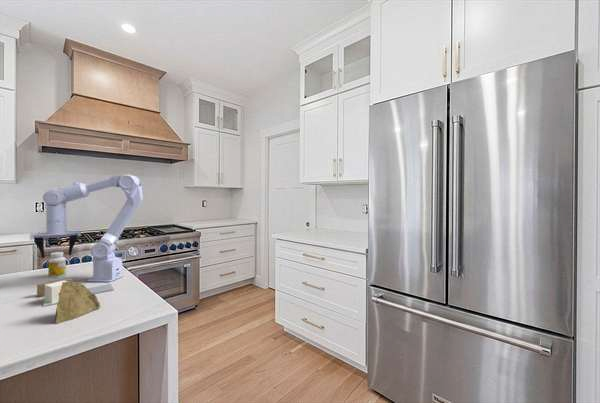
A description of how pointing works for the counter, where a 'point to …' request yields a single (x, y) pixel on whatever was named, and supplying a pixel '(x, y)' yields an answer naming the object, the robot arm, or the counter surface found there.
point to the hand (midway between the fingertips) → (56, 256)
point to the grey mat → (100, 289)
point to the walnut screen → (42, 288)
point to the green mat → (49, 303)
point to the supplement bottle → (57, 265)
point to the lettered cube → (53, 291)
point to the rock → (74, 301)
